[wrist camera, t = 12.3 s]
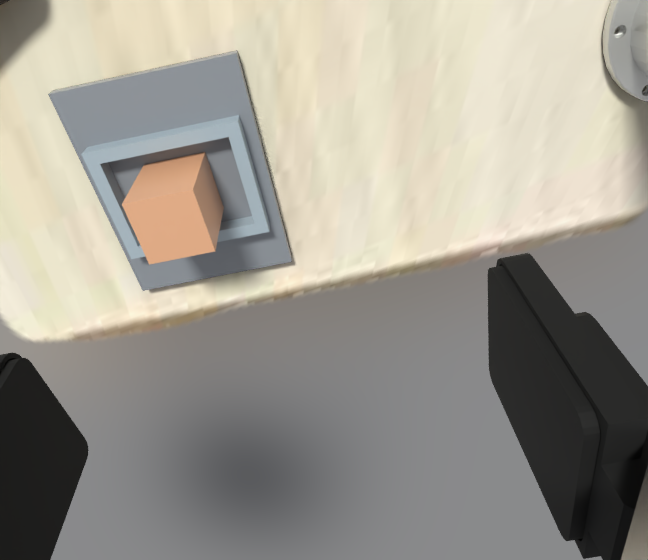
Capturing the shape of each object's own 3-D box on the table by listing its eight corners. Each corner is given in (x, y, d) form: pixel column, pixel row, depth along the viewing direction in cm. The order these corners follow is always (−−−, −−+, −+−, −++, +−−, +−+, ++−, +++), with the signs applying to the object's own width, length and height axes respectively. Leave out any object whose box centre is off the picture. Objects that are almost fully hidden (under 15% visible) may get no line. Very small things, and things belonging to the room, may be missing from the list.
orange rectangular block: (205, 151, 41) (192, 189, 35) (223, 207, 44) (215, 251, 38) (143, 164, 41) (121, 204, 36) (166, 219, 44) (149, 264, 38)
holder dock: (237, 50, 38) (234, 57, 36) (291, 255, 48) (292, 270, 46) (53, 90, 39) (40, 100, 37) (145, 284, 49) (139, 300, 47)
